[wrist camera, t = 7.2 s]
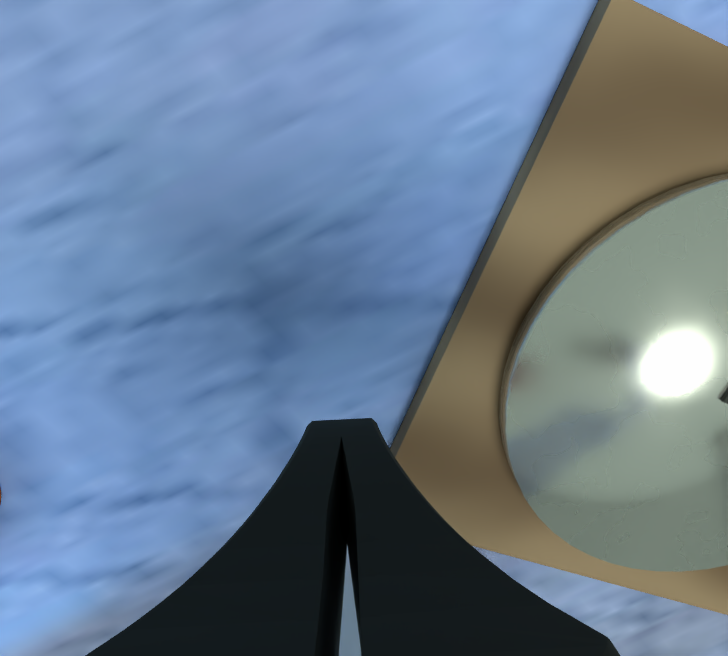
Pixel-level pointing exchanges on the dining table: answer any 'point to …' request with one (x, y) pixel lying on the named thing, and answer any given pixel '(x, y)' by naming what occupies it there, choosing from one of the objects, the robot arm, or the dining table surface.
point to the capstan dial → (630, 388)
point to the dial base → (549, 253)
